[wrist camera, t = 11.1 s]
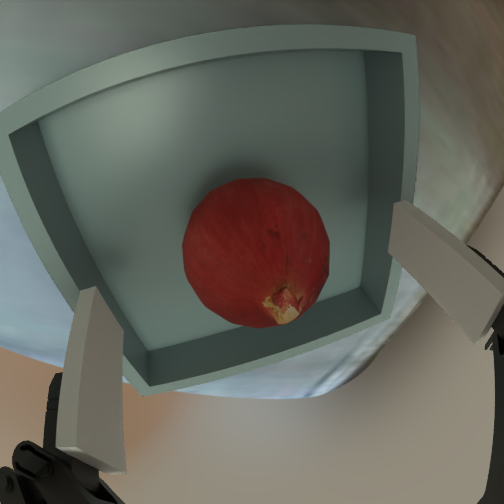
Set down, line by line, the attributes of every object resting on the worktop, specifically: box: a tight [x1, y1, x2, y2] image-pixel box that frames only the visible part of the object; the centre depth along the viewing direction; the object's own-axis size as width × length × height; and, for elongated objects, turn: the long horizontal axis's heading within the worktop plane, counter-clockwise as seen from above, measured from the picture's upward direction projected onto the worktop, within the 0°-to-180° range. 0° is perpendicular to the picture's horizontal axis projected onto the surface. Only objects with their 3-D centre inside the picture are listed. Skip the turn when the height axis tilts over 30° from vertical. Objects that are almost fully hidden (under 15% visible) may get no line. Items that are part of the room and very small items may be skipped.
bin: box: [0, 24, 419, 396], centre depth 14 cm, size 18×18×4 cm
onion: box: [182, 178, 330, 329], centre depth 12 cm, size 6×6×8 cm
